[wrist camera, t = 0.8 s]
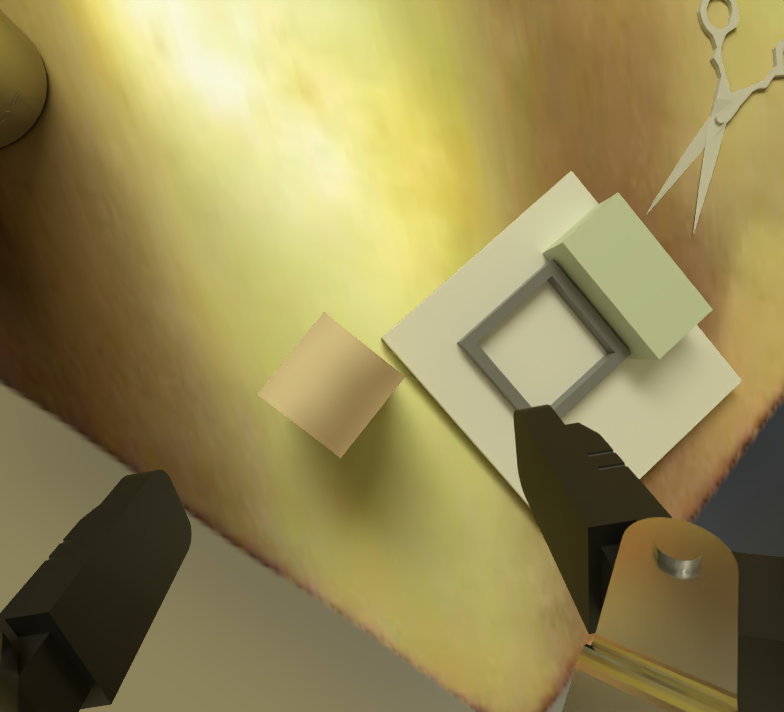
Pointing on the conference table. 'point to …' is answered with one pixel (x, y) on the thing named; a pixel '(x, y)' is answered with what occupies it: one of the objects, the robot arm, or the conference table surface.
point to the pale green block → (629, 279)
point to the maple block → (331, 385)
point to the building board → (550, 350)
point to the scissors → (718, 105)
